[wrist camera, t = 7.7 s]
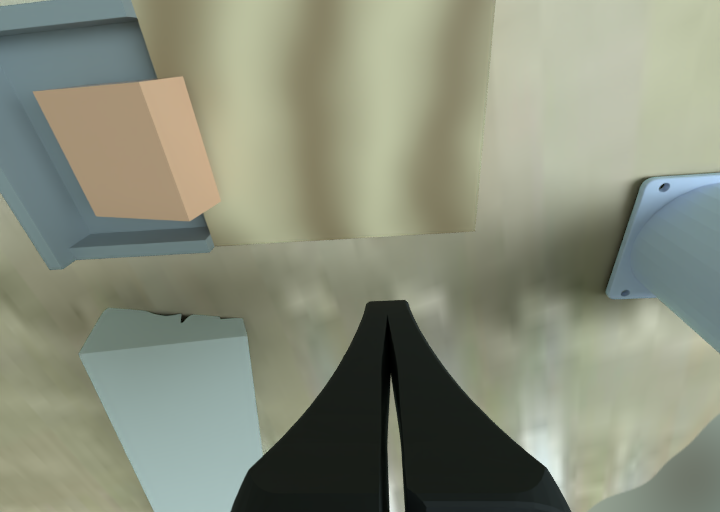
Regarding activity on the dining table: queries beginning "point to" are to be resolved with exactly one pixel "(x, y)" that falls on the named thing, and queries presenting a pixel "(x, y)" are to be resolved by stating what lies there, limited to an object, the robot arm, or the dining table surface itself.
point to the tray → (39, 145)
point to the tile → (133, 147)
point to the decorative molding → (178, 403)
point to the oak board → (332, 111)
